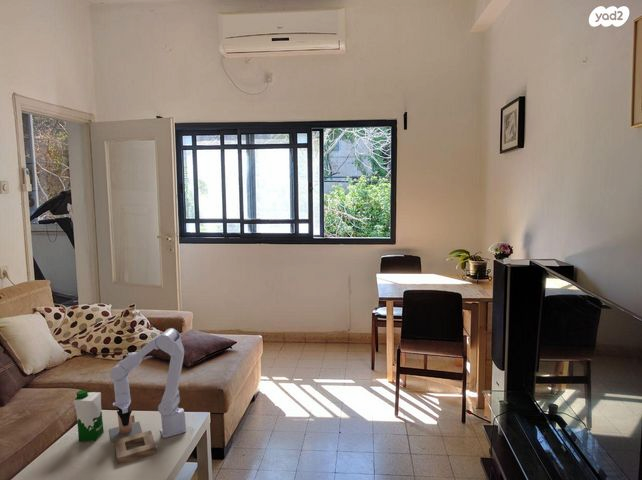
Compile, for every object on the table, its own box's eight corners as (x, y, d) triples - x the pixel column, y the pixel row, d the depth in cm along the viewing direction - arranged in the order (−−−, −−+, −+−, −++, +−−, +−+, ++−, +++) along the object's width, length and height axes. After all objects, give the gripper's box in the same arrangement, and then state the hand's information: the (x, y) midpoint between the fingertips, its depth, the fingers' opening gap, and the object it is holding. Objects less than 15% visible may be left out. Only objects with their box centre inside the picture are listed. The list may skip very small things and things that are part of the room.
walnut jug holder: (151, 435, 189) (150, 430, 189) (156, 452, 177) (156, 446, 177) (114, 446, 182) (114, 440, 182) (118, 464, 170) (117, 458, 170)
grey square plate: (139, 422, 201) (139, 421, 201) (142, 434, 190) (142, 434, 190) (109, 429, 195) (109, 429, 195) (111, 443, 185) (111, 442, 185)
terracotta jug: (135, 426, 197) (133, 409, 195) (135, 431, 192) (134, 414, 191) (119, 430, 194) (117, 412, 193) (119, 435, 189) (117, 418, 188)
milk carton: (86, 431, 194) (81, 387, 192) (107, 430, 194) (102, 386, 192) (75, 443, 186) (70, 397, 183) (96, 442, 186) (92, 396, 183)
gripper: (110, 387, 195) (113, 417, 196) (113, 400, 182) (116, 432, 184) (128, 383, 198) (130, 412, 200) (131, 396, 186) (134, 427, 187)
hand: (124, 421), depth 192 cm, fingers open, 6 cm apart
